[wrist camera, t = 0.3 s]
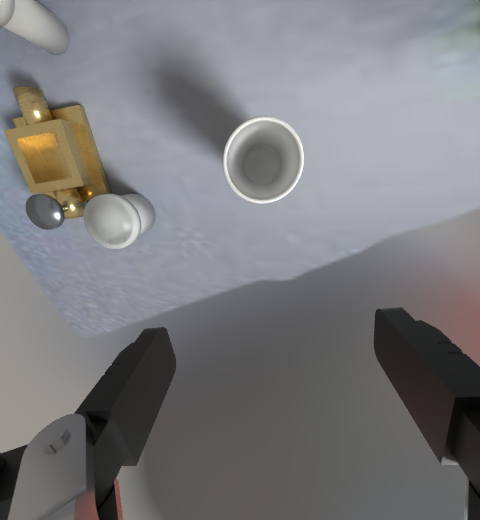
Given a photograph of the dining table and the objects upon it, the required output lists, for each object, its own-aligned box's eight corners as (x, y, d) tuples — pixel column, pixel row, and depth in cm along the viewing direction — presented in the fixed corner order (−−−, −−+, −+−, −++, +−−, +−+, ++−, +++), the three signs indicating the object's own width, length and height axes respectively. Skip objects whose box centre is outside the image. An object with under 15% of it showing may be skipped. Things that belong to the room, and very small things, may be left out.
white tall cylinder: (241, 194, 35) (229, 210, 21) (233, 143, 33) (214, 123, 19) (288, 186, 34) (308, 197, 20) (283, 133, 32) (302, 105, 18)
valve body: (12, 103, 33) (-55, 86, 26) (77, 89, 32) (26, 66, 25) (60, 222, 39) (16, 234, 32) (117, 214, 38) (84, 224, 31)
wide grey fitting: (108, 193, 37) (75, 198, 30) (151, 186, 36) (127, 190, 29) (122, 237, 39) (95, 251, 32) (163, 232, 38) (143, 245, 32)
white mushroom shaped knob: (26, 14, 30) (-66, -47, 21) (62, 4, 29) (-18, -63, 21) (43, 63, 31) (-36, 24, 23) (78, 55, 31) (9, 11, 22)
